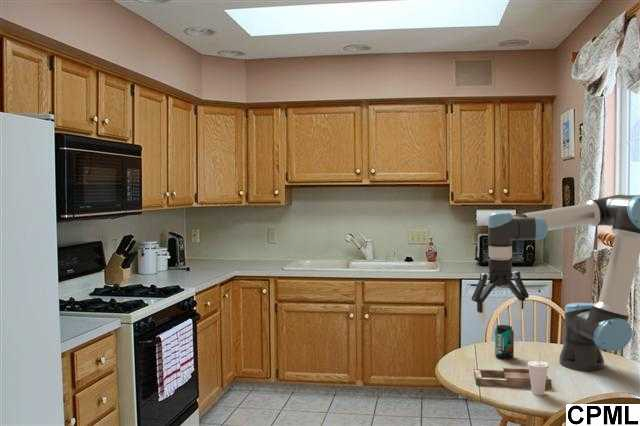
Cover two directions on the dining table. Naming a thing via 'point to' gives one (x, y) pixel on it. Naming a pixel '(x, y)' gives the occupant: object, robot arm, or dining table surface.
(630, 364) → the dining table surface
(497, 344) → the beverage can
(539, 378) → the smoothie
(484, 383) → the rail board
